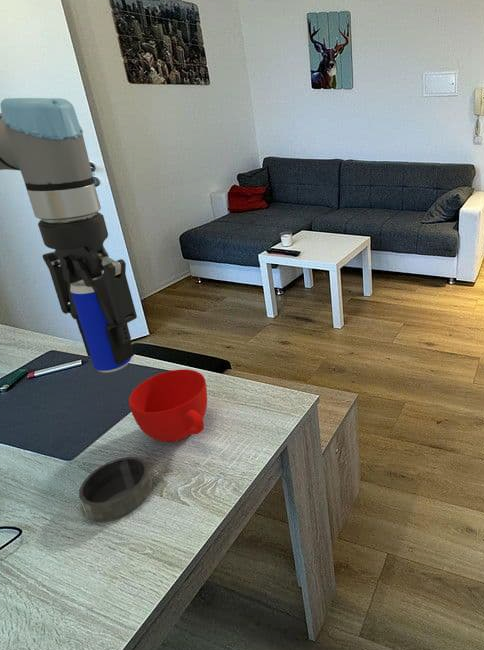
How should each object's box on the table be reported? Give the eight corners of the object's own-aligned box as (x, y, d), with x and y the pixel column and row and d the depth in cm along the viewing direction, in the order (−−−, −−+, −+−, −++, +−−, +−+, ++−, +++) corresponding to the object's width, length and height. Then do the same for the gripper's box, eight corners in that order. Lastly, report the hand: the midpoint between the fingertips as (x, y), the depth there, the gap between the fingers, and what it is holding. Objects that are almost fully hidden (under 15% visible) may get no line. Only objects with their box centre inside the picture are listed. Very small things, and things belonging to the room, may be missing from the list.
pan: (71, 512, 69) (64, 494, 67) (124, 467, 77) (119, 450, 75) (115, 531, 66) (108, 513, 64) (165, 483, 74) (160, 465, 72)
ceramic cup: (172, 478, 75) (160, 434, 71) (128, 435, 84) (115, 393, 80) (238, 434, 84) (231, 393, 81) (192, 400, 94) (183, 361, 90)
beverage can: (121, 352, 73) (98, 271, 68) (139, 361, 71) (117, 278, 65) (88, 367, 69) (61, 282, 64) (105, 378, 67) (79, 290, 61)
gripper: (143, 215, 61) (174, 354, 70) (52, 203, 67) (91, 334, 75) (93, 229, 55) (134, 381, 64) (-4, 216, 60) (46, 357, 69)
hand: (111, 355), depth 69 cm, fingers closed on beverage can, 5 cm apart
